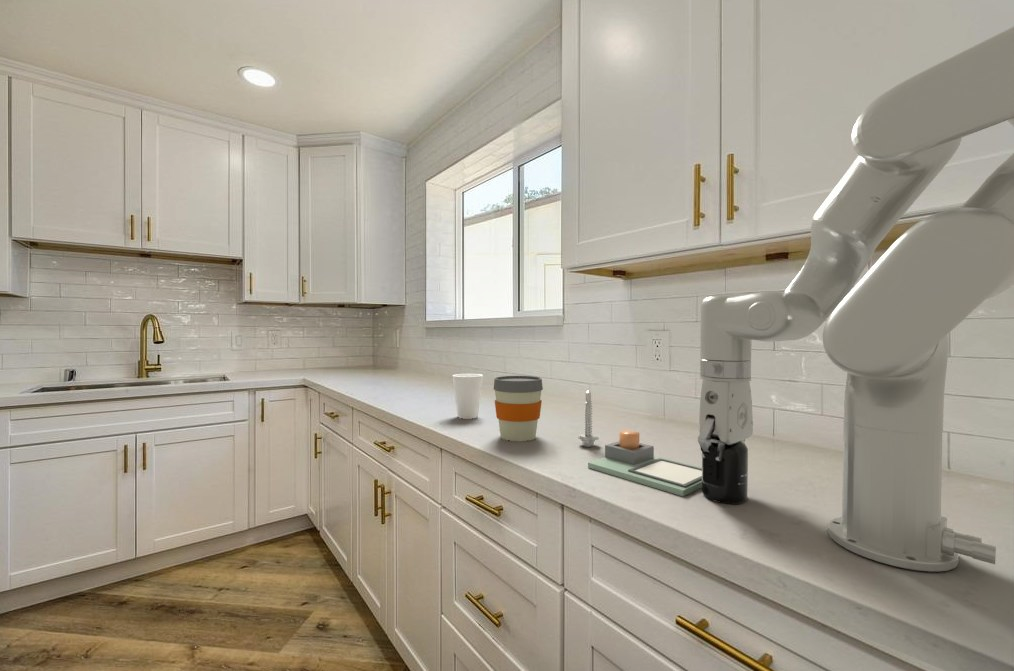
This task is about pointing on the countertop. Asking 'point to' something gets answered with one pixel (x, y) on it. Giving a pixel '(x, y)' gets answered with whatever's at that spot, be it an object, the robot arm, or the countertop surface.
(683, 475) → the mint green tray
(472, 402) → the foam cup
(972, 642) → the countertop surface
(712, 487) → the supplement bottle
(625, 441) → the button
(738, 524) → the countertop surface
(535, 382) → the reusable coffee cup
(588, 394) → the screw
